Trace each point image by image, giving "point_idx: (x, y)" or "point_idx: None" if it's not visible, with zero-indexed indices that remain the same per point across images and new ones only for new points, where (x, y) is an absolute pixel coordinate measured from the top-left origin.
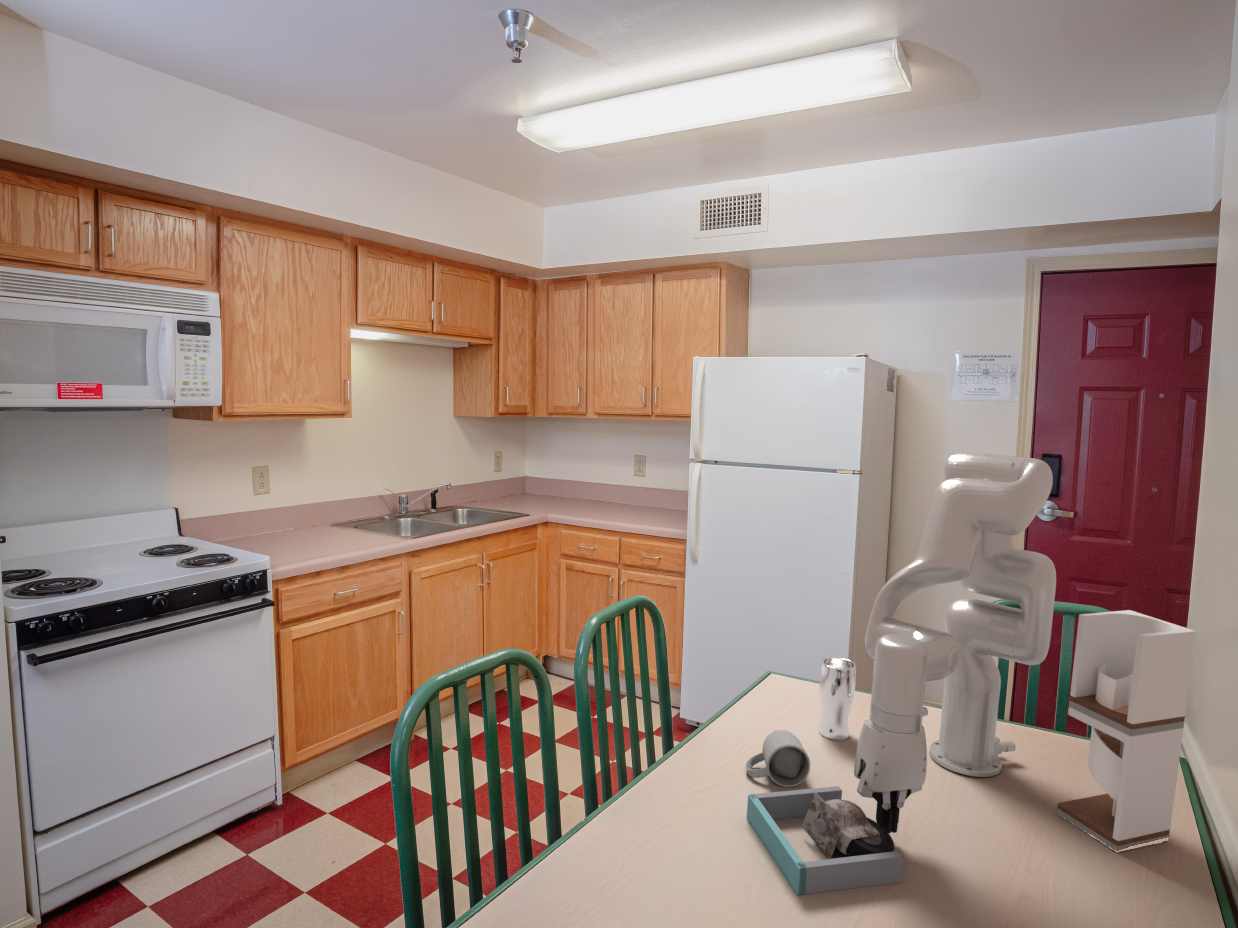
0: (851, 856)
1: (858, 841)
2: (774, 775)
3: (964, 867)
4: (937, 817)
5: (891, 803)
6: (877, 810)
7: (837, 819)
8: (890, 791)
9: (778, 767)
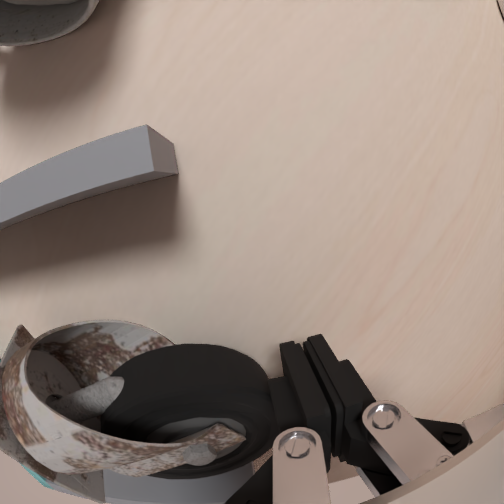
0: (131, 500)
1: (156, 473)
2: (31, 11)
3: (412, 396)
4: (478, 214)
5: (344, 450)
6: (276, 416)
7: (82, 485)
8: (380, 455)
9: (18, 2)
